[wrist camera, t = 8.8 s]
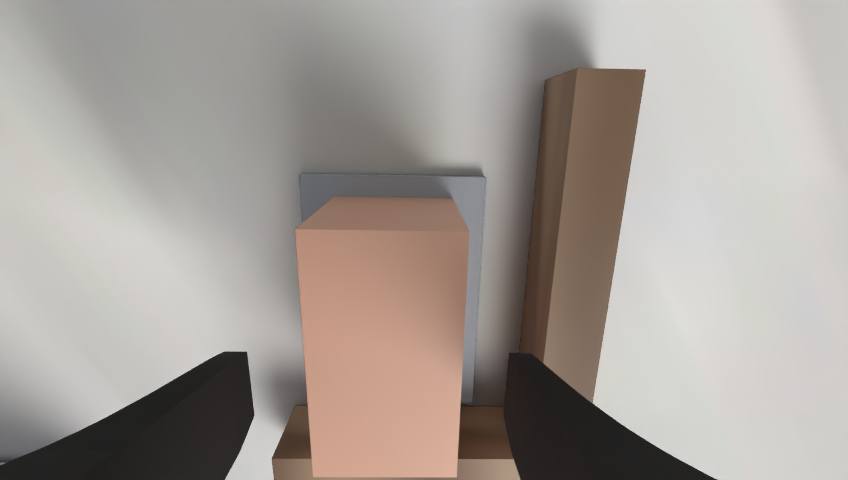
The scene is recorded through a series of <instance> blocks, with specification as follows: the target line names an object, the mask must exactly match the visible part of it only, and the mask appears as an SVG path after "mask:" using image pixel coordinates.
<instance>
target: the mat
mask: <svg viewBox="0 0 848 480" xmlns="http://www.w3.org/2000/svg"><path fill="white" fill-rule="evenodd" d="M299 181H300V196H301V210H302V223H303V222H304V221H305V220H307V219H308V218H309V217H310V216H312V215H313V214H314V213H315V212H316V211H318V210H319V209H320V208H321V207H322V206H324V205H325V204H326V203H327V202H328V201H330V200H331V199H332V198H333V197H395V198H453V199H454V201H455V203H456V205H457V207H458V209H459V211H460V213H461V215H462V217H463V219H464V221H465V223H466V225H467V227H468V229H469V231H470V235H469V254H468V273H467V292H466V311H465V330H464V349H463V368H462V387H461V403H472V400H473V384H474V368H475V351H476V335H477V319H478V303H479V286H480V270H481V254H482V238H483V221H484V205H485V189H486V177H485V176H437V175H377V174H318V173H301V174H299Z"/></svg>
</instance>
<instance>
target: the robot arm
mask: <svg viewBox="0 0 848 480" xmlns="http://www.w3.org/2000/svg"><path fill="white" fill-rule="evenodd" d="M253 417H254V409H253V400H252V391H251V383H250V374H249V366H248V357H247V352H223V353H221V354H218V355H216V356H215V357H213V358H211V359H209V360H207V361H205V362H204V363H202V364H200V365H198V366H197V367H195V368H193V369H192V370H190V371H188V372H186V373H185V374H183V375H181V376H180V377H178V378H176V379H174V380H173V381H171V382H169V383H168V384H166V385H164V386H162V387H161V388H159V389H157V390H156V391H154V392H152V393H150V394H149V395H147V396H145V397H143V398H141V399H139V400H137V401H136V402H134V403H132V404H130V405H128V406H126V407H125V408H123V409H121V410H119V411H117V412H115V413H114V414H112V415H110V416H108V417H106V418H104V419H102V420H100V421H98V422H96V423H94V424H92V425H90V426H88V427H86V428H84V429H82V430H80V431H78V432H76V433H74V434H72V435H69V436H67V437H65V438H63V439H61V440H59V441H56V442H54V443H52V444H50V445H48V446H45V447H43V448H41V449H39V450H36V451H34V452H31V453H29V454H26V455H24V456H22V457H19V458H17V459H14V460H12V461H9V462H7V463H2V462H0V480H225V478H226V476H227V474H228V473H229V471H230V469H231V467H232V465H233V463H234V462H235V460H236V458H237V456H238V454H239V452H240V450H241V448H242V445H243V443H244V440H245V438H246V436H247V433H248V430H249V428H250V425H251V423H252V420H253ZM504 420H505V425H506V430H507V435H508V440H509V444H510V449H511V453H512V456H513V459H514V462H515V465H516V468H517V471H518V474H519V477H520V480H717V479H714V478H712V477H710V476H709V475H707V474H705V473H703V472H701V471H699V470H697V469H695V468H694V467H692V466H690V465H688V464H686V463H684V462H682V461H680V460H679V459H677V458H675V457H673V456H671V455H670V454H668V453H666V452H664V451H663V450H661V449H659V448H658V447H656V446H654V445H653V444H651V443H650V442H648V441H646V440H645V439H643V438H642V437H640V436H638V435H637V434H635V433H634V432H632V431H630V430H629V429H627V428H626V427H624V426H623V425H621V424H620V423H619V422H617V421H616V420H614V419H613V418H612V417H610V416H609V415H607V414H606V413H605V412H603V411H602V410H600V409H599V408H598V407H596V406H595V405H594V404H592V403H591V402H590V401H589V400H587V399H586V398H585V397H583V396H582V395H581V394H580V393H578V392H577V391H576V390H575V389H573V388H572V387H571V386H570V385H569V384H567V383H566V382H565V381H564V380H562V379H561V378H560V377H559V376H558V375H557V374H555V373H554V372H553V371H552V370H551V369H549V368H548V367H547V366H546V365H545V364H544V363H542V362H541V361H540V360H539V359H538V358H536V357H535V356H534V355H532V354H531V353H509V359H508V371H507V382H506V394H505V405H504Z"/></svg>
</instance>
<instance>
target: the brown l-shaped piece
mask: <svg viewBox="0 0 848 480" xmlns="http://www.w3.org/2000/svg"><path fill="white" fill-rule="evenodd" d="M645 72H646V70H638V69H593V68H577V69H574V70H571V71H569V72H566V73H563V74H561V75H558V76H555V77H552V78H550V79H547V80H545V88H544V98H543V109H542V119H541V130H540V140H539V150H538V161H537V171H536V182H535V192H534V203H533V213H532V223H531V234H530V244H529V255H528V265H527V275H526V286H525V296H524V307H523V317H522V328H521V338H520V348H519V353H531V354H532V355H534V356H535V357H536V358H538V359H539V360H540V361H541V362H542V363H544V364H545V365H546V366H547V367H548V368H549V369H551V370H552V371H553V372H554V373H555V374H557V375H558V376H559V377H560V378H561V379H562V380H564V381H565V382H566V383H567V384H569V385H570V386H571V387H572V388H573V389H575V390H576V391H577V392H578V393H580V394H581V395H582V396H583V397H585V398H586V399H587V400H589V401H590V402H591V403H593V397H594V390H595V384H596V378H597V372H598V365H599V359H600V353H601V347H602V340H603V334H604V328H605V322H606V315H607V309H608V303H609V297H610V290H611V284H612V278H613V272H614V265H615V259H616V253H617V247H618V240H619V234H620V228H621V222H622V215H623V209H624V203H625V197H626V190H627V184H628V178H629V172H630V165H631V159H632V153H633V147H634V140H635V134H636V128H637V122H638V115H639V109H640V103H641V97H642V90H643V84H644V78H645ZM272 465H273V474H274V480H520V477H519V474H518V471H517V468H516V465H515V462H514V459H513V456H512V453H511V449H510V444H509V440H508V435H507V430H506V425H505V420H504V406H460V424H459V443H458V462H457V477H313V470H312V456H311V443H310V429H309V415H308V406H306V405H295V407H294V409H293V412H292V414H291V416H290V419H289V421H288V423H287V425H286V428H285V430H284V432H283V434H282V437H281V439H280V441H279V444H278V446H277V448H276V450H275V453H274V455H273V457H272Z"/></svg>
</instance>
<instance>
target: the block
mask: <svg viewBox="0 0 848 480" xmlns="http://www.w3.org/2000/svg"><path fill="white" fill-rule="evenodd" d="M469 235H470V231H469V229H468V227H467V225H466V223H465V221H464V219H463V217H462V215H461V213H460V211H459V209H458V207H457V205H456V203H455V201H454V199H453V198H395V197H333V198H332V199H331V200H330V201H328V202H327V203H326V204H325V205H324V206H322V207H321V208H320V209H319V210H318V211H316V212H315V213H314V214H313V215H312V216H310V217H309V218H308V219H307V220H305V221H304V222H303V223H302V224H301V225H299V226H298V227H297V228H296V229H295V236H296V250H297V264H298V277H299V291H300V305H301V319H302V332H303V346H304V360H305V374H306V388H307V401H308V415H309V429H310V443H311V456H312V470H313V477H457V462H458V443H459V424H460V405H461V387H462V368H463V349H464V330H465V311H466V292H467V273H468V254H469Z"/></svg>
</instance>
